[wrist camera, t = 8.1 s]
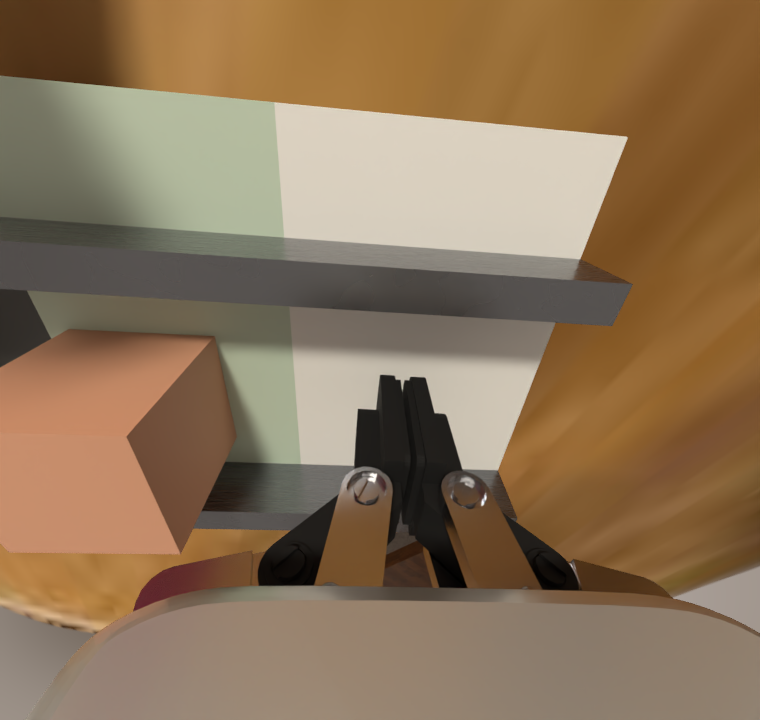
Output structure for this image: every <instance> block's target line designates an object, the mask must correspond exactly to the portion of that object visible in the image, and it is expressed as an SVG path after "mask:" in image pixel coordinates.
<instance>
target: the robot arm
mask: <svg viewBox="0 0 760 720" xmlns="http://www.w3.org/2000/svg"><path fill="white" fill-rule="evenodd" d="M400 513H401V515H402V523H403V525H408V529H409V536H415V539H416V540H417V541H418V542H419V543H420V544H421V545H423V553H424V558H425V561H426V565H427V569H428V572H429V576H430V579H431V583H432V587H433V588H424V587H383V578H384V568H385V559H386V550H387V546H388V545H389V544H390V542H391V541H392V540H393V539H394V538H395V534H396V529H397V525H398V523H399V518H400ZM25 720H760V633H758V632H756V631H755V630H753V629H751V628H750V627H748V626H746V625H744V624H742V623H740V622H738V621H736V620H734V619H732V618H729V617H727V616H724V615H722V614H720V613H717V612H715V611H712V610H710V609H707V608H704V607H701V606H698V605H695V604H692V603H689V602H685V601H681V600H677V599H673V598H672V597H671V596H670V595H669V594H668V593H667V592H666V591H665V590H664V589H663V588H662V587H660V586H659V585H658V584H656V583H655V582H653V581H651V580H649V579H646V578H644V577H640V576H637V575H633V574H629V573H625V572H621V571H618V570H614V569H610V568H606V567H602V566H598V565H595V564H591V563H587V562H583V561H579V560H576V559H573V560H572V561H571V562H568V561H566V560H565V559H564V558H563V557H562V556H561V555H560V554H559V553H558V552H556V551H555V550H553V549H552V548H551V547H549V546H548V545H547V544H545V543H544V542H542V541H541V540H540V539H538V538H537V537H536V536H534V535H533V534H532V533H530V532H529V531H527V530H526V529H525V528H523V527H522V526H521V525H519V524H518V523H516V522H515V521H514V520H512V519H511V518H510V517H508V516H507V515H506V514H504V513H503V512H501V510H500V508H499V506H498V504H497V502H496V500H495V498H494V496H493V494H492V493H491V491H490V489H489V487H488V486H487V485H486V483H485V482H484V481H483V480H482V479H481V478H479V477H478V476H476V475H474V474H472V473H469V472H466V471H463V469H462V466H461V463H460V459H459V456H458V452H457V449H456V446H455V442H454V439H453V435H452V432H451V429H450V425H449V422H448V418H447V416H446V414H441V413H434V409H433V405H432V401H431V397H430V393H429V389H428V385H427V381H426V378H425V377H410V379H409V380H404V385H403V391H402V387H401V380H396V379H395V376H394V375H380V379H379V387H378V396H377V405H376V410H371V409H358V412H357V426H356V441H355V458H354V470H352V471H350V472H349V473H348V474H347V475H346V476H345V477H344V480H343V482H342V484H341V488H340V492H339V494H338V495H337V496H335V497H334V498H333V499H332V500H330V501H329V502H328V503H326V504H325V505H324V506H322V507H321V508H320V509H319V510H317V511H316V512H315V513H313V514H312V515H311V516H309V517H308V518H307V519H306V520H304V521H303V522H302V523H300V524H299V525H298V526H296V527H295V528H294V529H293V530H291V531H290V532H289V533H287V534H286V535H285V536H283V537H282V538H281V539H280V540H278V541H277V542H276V543H274V544H273V545H272V546H271V547H270V548H269V549H268V550H267V551H265V552H260V553H255V554H253V553H252V551H247V552H242V553H237V554H232V555H228V556H223V557H218V558H213V559H208V560H203V561H199V562H194V563H189V564H184V565H179V566H174V567H171V568H169V569H166V570H163V571H162V572H160V573H159V574H157V575H156V576H154V577H153V578H152V579H151V580H150V581H149V582H148V583H147V584H146V585H145V587H144V588H143V589H142V590H141V592H140V594H139V597H138V599H137V601H136V603H135V607H134V610H133V612H132V613H130V614H128V615H126V616H124V617H122V618H120V619H118V620H116V621H115V622H113V623H111V624H110V625H108V626H107V627H105V628H104V629H102V630H101V631H99V632H98V633H97V634H95V635H94V636H93V637H92V638H90V639H89V640H88V641H87V642H86V643H85V644H84V645H83V646H82V647H81V648H80V649H79V650H78V651H77V652H76V653H75V654H74V655H73V656H72V657H71V659H70V660H69V661H68V662H67V663H66V665H65V666H64V667H63V668H62V669H61V671H60V672H59V673H58V674H57V676H56V677H55V678H54V680H53V681H52V682H51V684H50V685H49V687H48V688H47V689H46V690H45V692H44V693H43V694H42V696H41V697H40V699H39V700H38V702H37V703H36V705H35V706H34V707H33V709H32V710H31V712H30V713H29V715H28V716H27V718H26V719H25Z"/></svg>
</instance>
